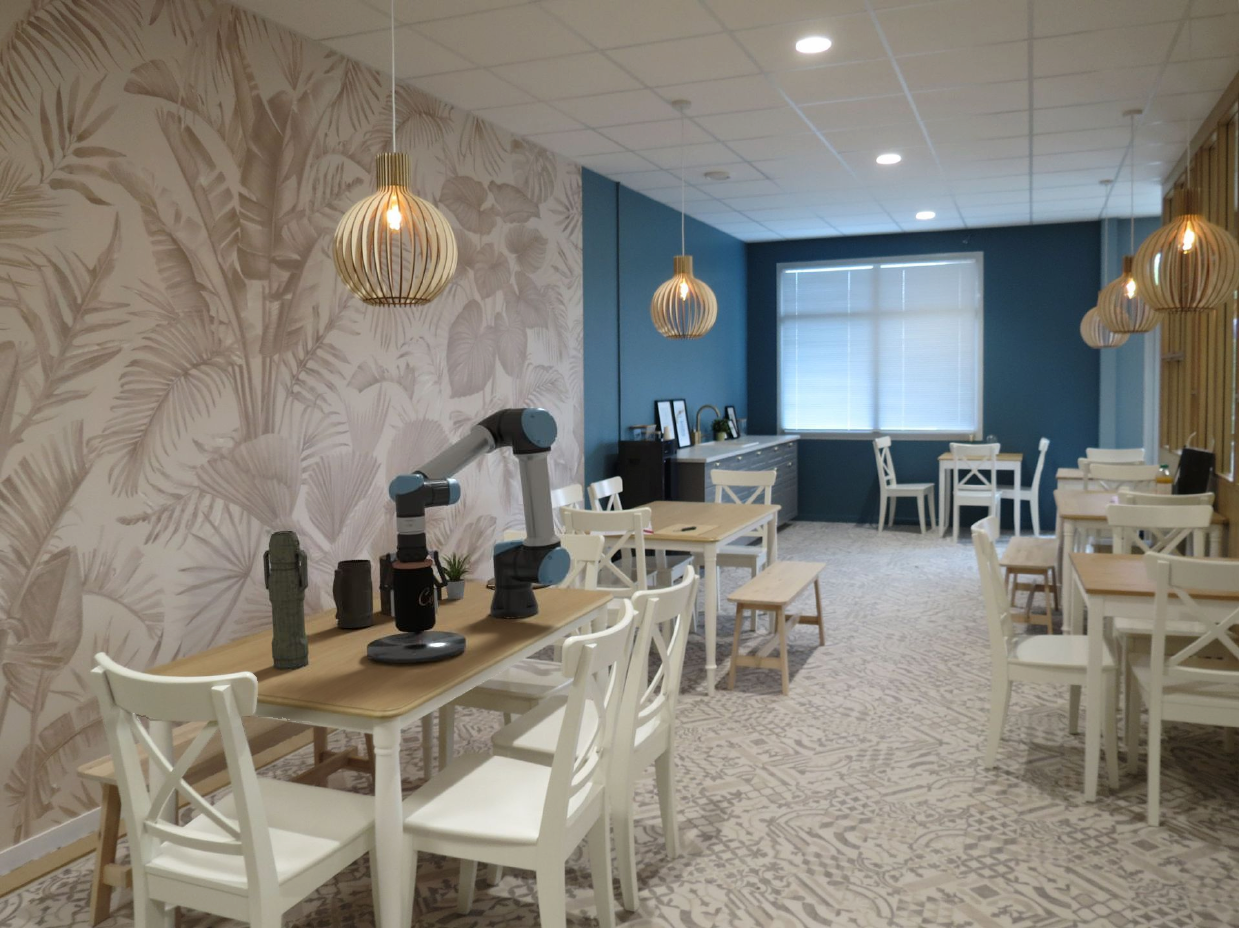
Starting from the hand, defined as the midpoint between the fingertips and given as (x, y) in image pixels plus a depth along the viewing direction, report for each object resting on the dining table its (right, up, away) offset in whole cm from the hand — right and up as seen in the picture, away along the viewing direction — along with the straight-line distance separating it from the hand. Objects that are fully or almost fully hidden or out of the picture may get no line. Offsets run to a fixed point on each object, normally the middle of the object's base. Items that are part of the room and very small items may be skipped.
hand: (415, 614), depth 263 cm
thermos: (-31, -13, -7) cm, 34 cm away
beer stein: (-26, -10, +35) cm, 45 cm away
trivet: (+19, -4, +97) cm, 99 cm away
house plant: (-1, -6, +76) cm, 77 cm away
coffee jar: (0, -4, 0) cm, 4 cm away
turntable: (0, -11, +1) cm, 11 cm away
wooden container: (-15, -8, +57) cm, 59 cm away
